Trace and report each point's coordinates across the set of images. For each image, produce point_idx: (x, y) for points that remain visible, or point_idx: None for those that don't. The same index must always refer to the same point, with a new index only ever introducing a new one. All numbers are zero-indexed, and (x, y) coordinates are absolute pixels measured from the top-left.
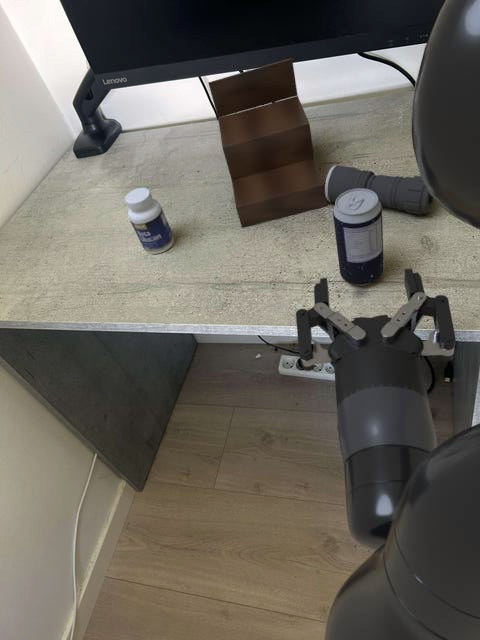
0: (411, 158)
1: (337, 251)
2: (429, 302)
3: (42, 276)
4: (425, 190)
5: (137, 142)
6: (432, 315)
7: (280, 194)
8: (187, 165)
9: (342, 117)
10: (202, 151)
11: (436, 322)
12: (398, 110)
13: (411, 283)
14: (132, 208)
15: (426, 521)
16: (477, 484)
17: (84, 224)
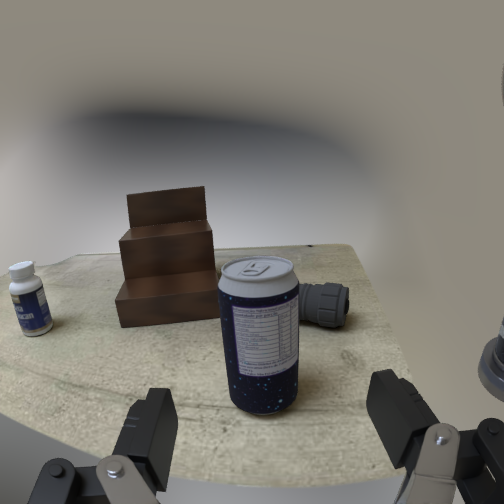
0: (314, 283)
1: (225, 358)
2: (463, 446)
3: None
4: (341, 295)
5: (78, 260)
6: (462, 476)
7: (168, 293)
8: (102, 275)
9: (248, 256)
10: (120, 268)
11: (494, 495)
12: (297, 255)
13: (405, 404)
14: (11, 276)
15: None
16: None
17: (3, 303)
